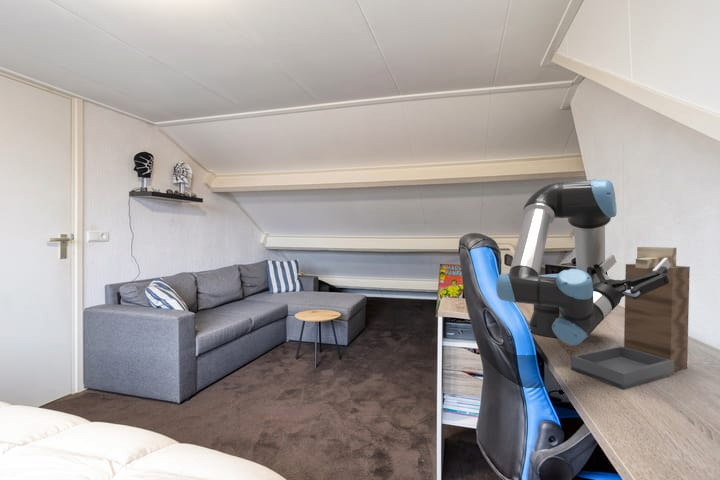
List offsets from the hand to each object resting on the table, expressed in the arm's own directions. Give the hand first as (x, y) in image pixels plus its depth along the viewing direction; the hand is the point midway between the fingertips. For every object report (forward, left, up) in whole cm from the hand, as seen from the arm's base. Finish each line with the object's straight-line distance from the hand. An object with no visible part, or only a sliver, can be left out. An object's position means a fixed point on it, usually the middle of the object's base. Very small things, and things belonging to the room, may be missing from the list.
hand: (639, 259), depth 101 cm
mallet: (-2, +3, -2) cm, 4 cm away
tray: (+6, -4, -32) cm, 33 cm away
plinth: (-8, +5, -32) cm, 33 cm away
